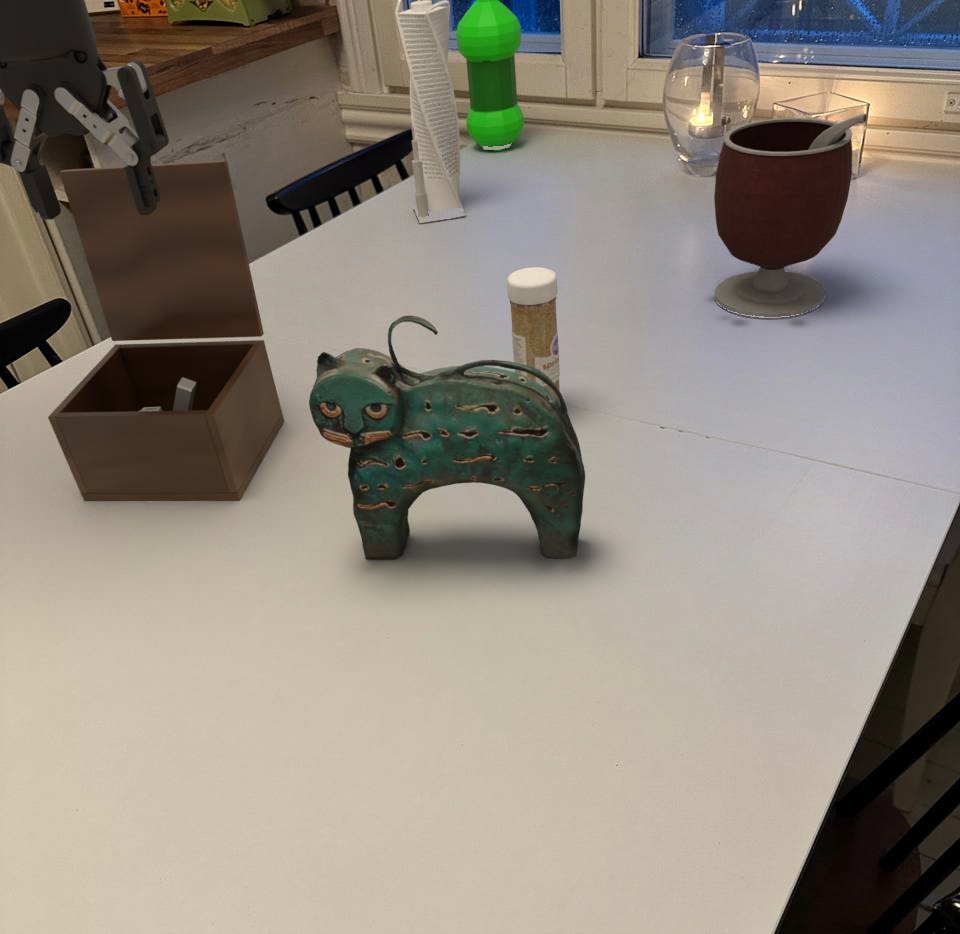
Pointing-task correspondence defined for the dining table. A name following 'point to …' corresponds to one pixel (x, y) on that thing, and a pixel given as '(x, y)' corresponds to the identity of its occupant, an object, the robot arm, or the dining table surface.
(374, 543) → the ceramic cat
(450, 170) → the skyscraper
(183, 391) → the lighter
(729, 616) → the dining table surface
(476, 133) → the plastic bottle
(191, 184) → the lid
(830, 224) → the mate gourd
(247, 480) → the chest
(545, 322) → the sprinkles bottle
